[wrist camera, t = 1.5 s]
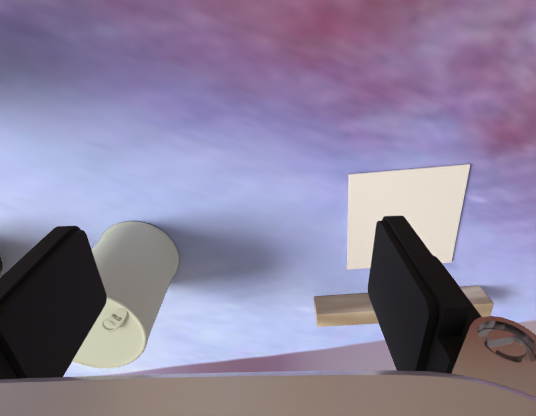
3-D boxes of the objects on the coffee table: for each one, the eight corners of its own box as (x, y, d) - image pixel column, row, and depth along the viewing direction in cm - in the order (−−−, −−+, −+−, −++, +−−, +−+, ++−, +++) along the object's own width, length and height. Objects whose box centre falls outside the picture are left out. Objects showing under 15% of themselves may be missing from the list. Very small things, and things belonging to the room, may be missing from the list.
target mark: (348, 173, 34) (349, 174, 34) (469, 163, 34) (470, 164, 34) (346, 268, 40) (347, 269, 40) (450, 261, 39) (451, 262, 39)
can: (195, 259, 39) (168, 343, 29) (143, 297, 42) (100, 387, 31) (134, 205, 36) (77, 276, 25) (82, 250, 39) (11, 332, 28)
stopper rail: (314, 296, 42) (316, 314, 39) (479, 285, 41) (493, 303, 38) (314, 308, 43) (317, 326, 40) (476, 298, 42) (490, 316, 39)
